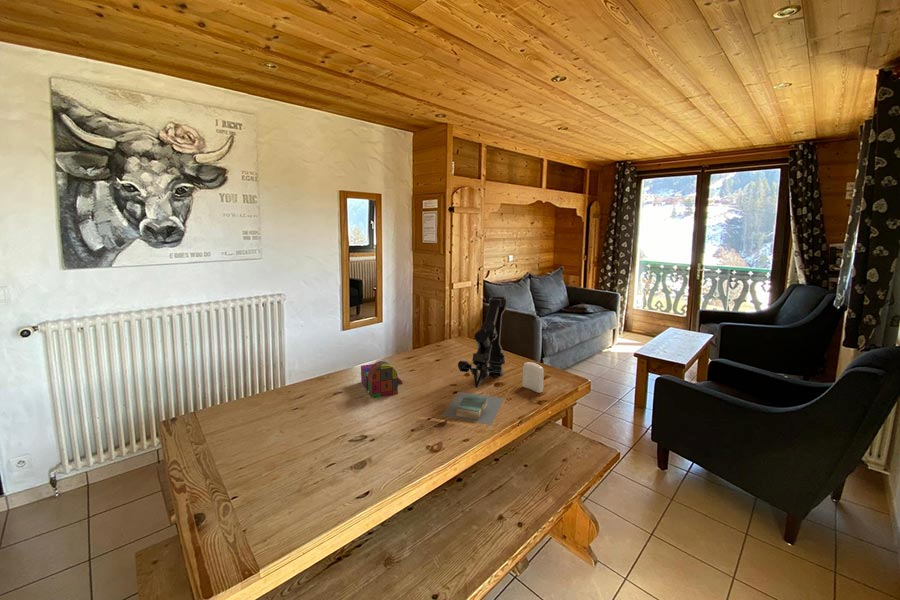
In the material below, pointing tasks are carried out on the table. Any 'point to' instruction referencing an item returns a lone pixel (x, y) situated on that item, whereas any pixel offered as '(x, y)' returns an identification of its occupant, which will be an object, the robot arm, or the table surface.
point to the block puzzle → (380, 379)
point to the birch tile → (472, 406)
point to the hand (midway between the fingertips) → (476, 387)
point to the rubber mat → (486, 416)
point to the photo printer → (533, 377)
